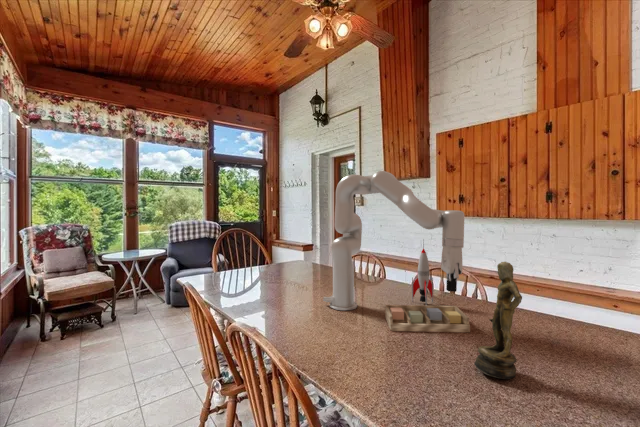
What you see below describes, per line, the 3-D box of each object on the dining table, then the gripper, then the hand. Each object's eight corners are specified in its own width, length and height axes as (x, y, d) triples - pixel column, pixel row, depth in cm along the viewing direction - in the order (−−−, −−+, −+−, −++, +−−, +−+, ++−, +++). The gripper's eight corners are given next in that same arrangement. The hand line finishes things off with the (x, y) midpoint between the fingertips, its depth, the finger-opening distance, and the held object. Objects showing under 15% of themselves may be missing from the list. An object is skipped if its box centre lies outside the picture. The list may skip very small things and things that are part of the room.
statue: (466, 365, 87) (467, 260, 87) (503, 363, 88) (504, 259, 88) (491, 387, 77) (491, 267, 76) (533, 385, 78) (533, 266, 77)
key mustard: (449, 323, 115) (449, 315, 115) (445, 318, 120) (445, 311, 120) (461, 323, 115) (461, 315, 115) (456, 319, 119) (456, 311, 119)
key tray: (390, 330, 112) (390, 317, 112) (385, 317, 126) (385, 304, 126) (470, 332, 110) (470, 318, 110) (455, 318, 124) (455, 305, 124)
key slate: (429, 319, 116) (429, 311, 116) (426, 315, 120) (426, 308, 120) (441, 320, 115) (441, 312, 115) (438, 315, 120) (438, 308, 120)
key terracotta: (392, 319, 117) (392, 311, 117) (390, 315, 121) (390, 307, 121) (403, 319, 116) (403, 311, 116) (401, 315, 121) (401, 307, 121)
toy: (432, 302, 145) (432, 238, 145) (437, 308, 137) (437, 240, 136) (411, 301, 146) (411, 238, 146) (415, 307, 138) (415, 240, 137)
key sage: (410, 322, 116) (410, 314, 116) (408, 318, 121) (408, 310, 121) (422, 322, 116) (422, 314, 116) (419, 318, 120) (419, 310, 120)
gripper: (436, 240, 124) (435, 285, 125) (449, 245, 110) (447, 296, 110) (455, 240, 124) (454, 286, 125) (471, 245, 109) (469, 297, 110)
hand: (451, 290), depth 117 cm, fingers closed
